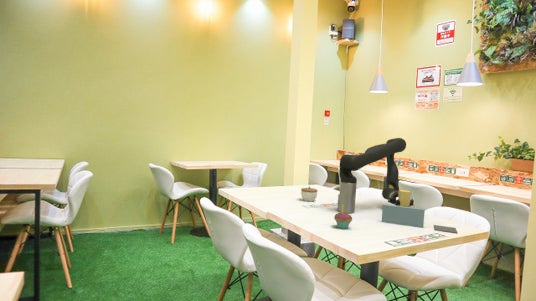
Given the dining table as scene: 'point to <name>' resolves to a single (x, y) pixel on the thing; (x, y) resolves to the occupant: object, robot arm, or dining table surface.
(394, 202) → the robot arm
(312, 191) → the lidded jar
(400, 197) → the letter block
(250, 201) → the dining table surface
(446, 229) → the mat
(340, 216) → the cupcake
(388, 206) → the screen
